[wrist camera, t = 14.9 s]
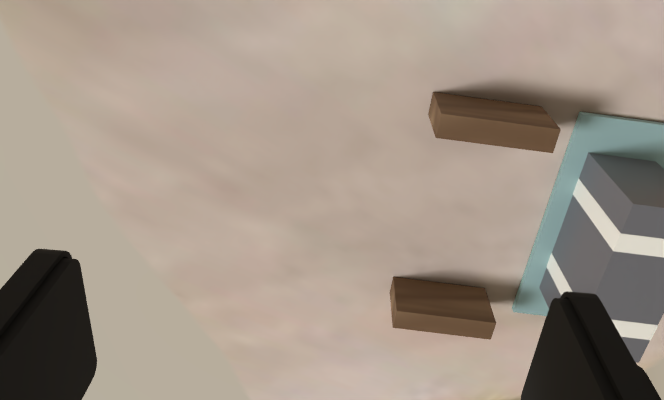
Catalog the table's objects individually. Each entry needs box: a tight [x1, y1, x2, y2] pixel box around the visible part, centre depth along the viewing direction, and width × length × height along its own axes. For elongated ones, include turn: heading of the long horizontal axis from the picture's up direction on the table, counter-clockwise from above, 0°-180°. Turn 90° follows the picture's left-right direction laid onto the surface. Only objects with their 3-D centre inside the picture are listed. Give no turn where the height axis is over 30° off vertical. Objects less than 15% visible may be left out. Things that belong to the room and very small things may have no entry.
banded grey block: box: [539, 153, 664, 362], centre depth 38 cm, size 11×4×7 cm, turn 173°
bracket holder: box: [390, 92, 561, 339], centre depth 39 cm, size 16×7×4 cm, turn 173°
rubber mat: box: [512, 112, 664, 316], centre depth 41 cm, size 16×7×1 cm, turn 173°
